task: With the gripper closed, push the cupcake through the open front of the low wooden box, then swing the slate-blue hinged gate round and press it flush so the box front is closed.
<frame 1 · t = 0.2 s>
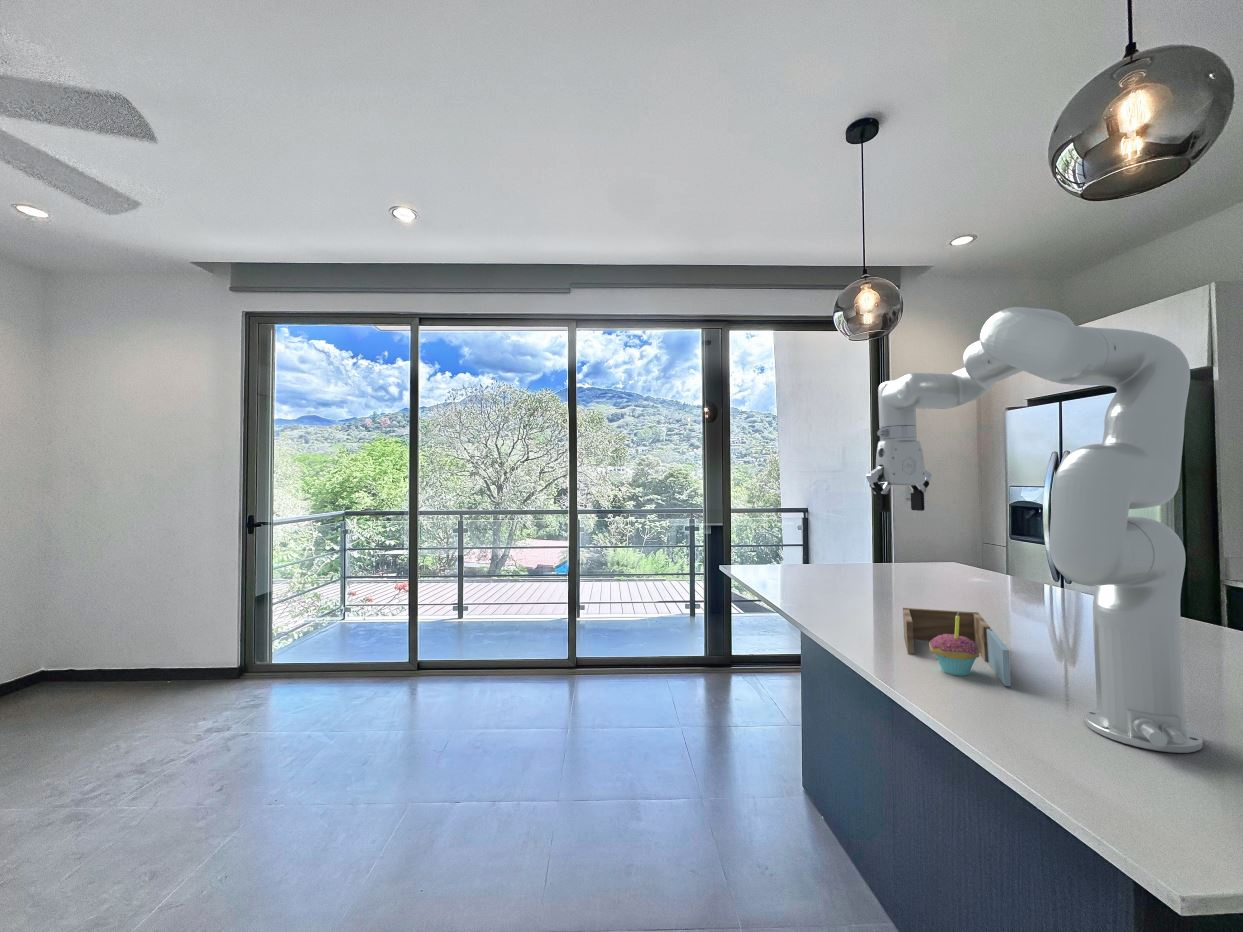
hand: (900, 511, 125), 31 cm above the table, tool pointing down, fingers open, 9 cm apart
gate: (997, 655, 107), point 4 cm above the table, hinge at 90.0°
cupcake: (954, 672, 109), on the table
wooden box: (944, 648, 124), on the table
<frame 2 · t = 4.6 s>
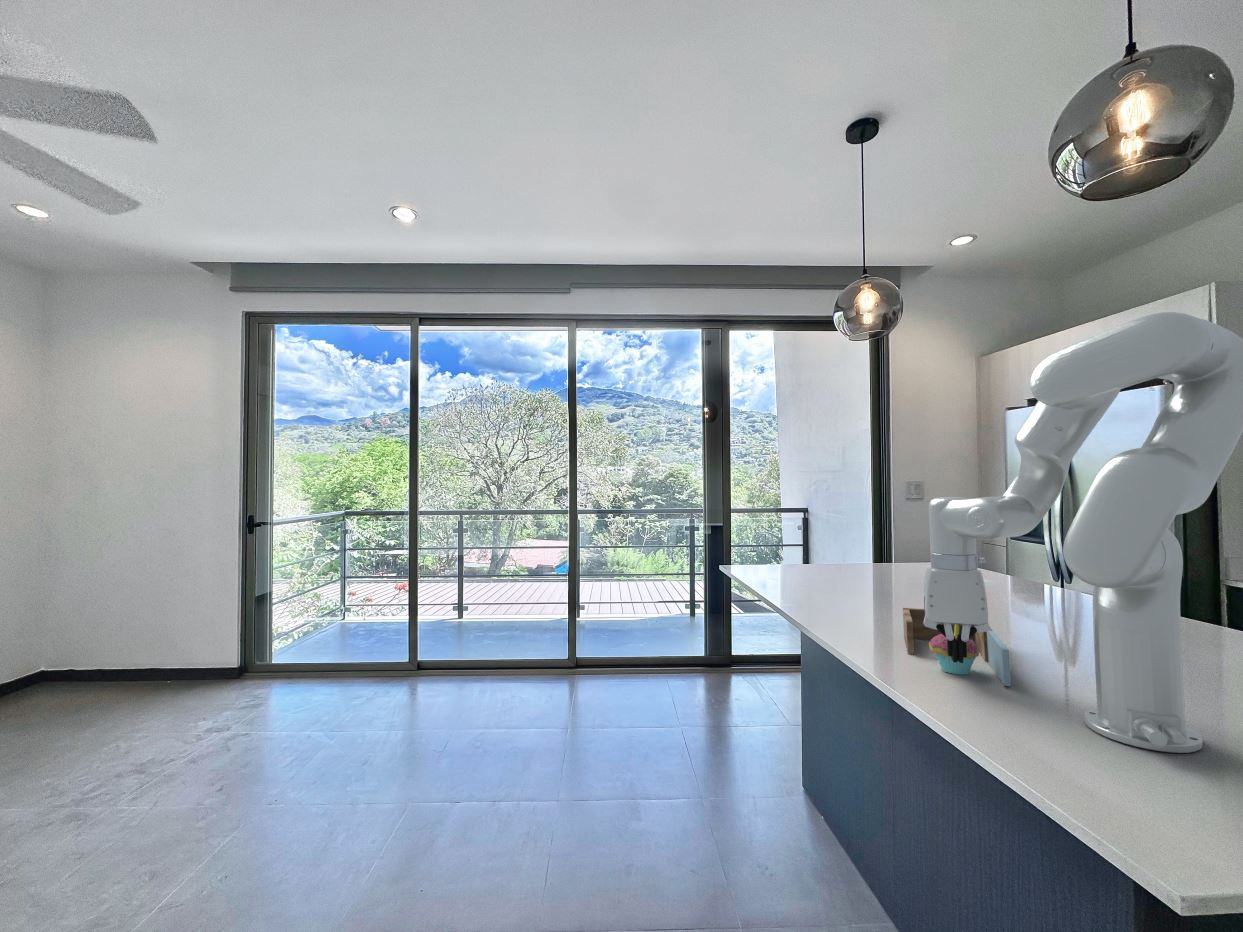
hand: (957, 660, 104), 4 cm above the table, tool pointing down, fingers closed
cupcake: (954, 671, 109), on the table, touching gripper
everything else where it was.
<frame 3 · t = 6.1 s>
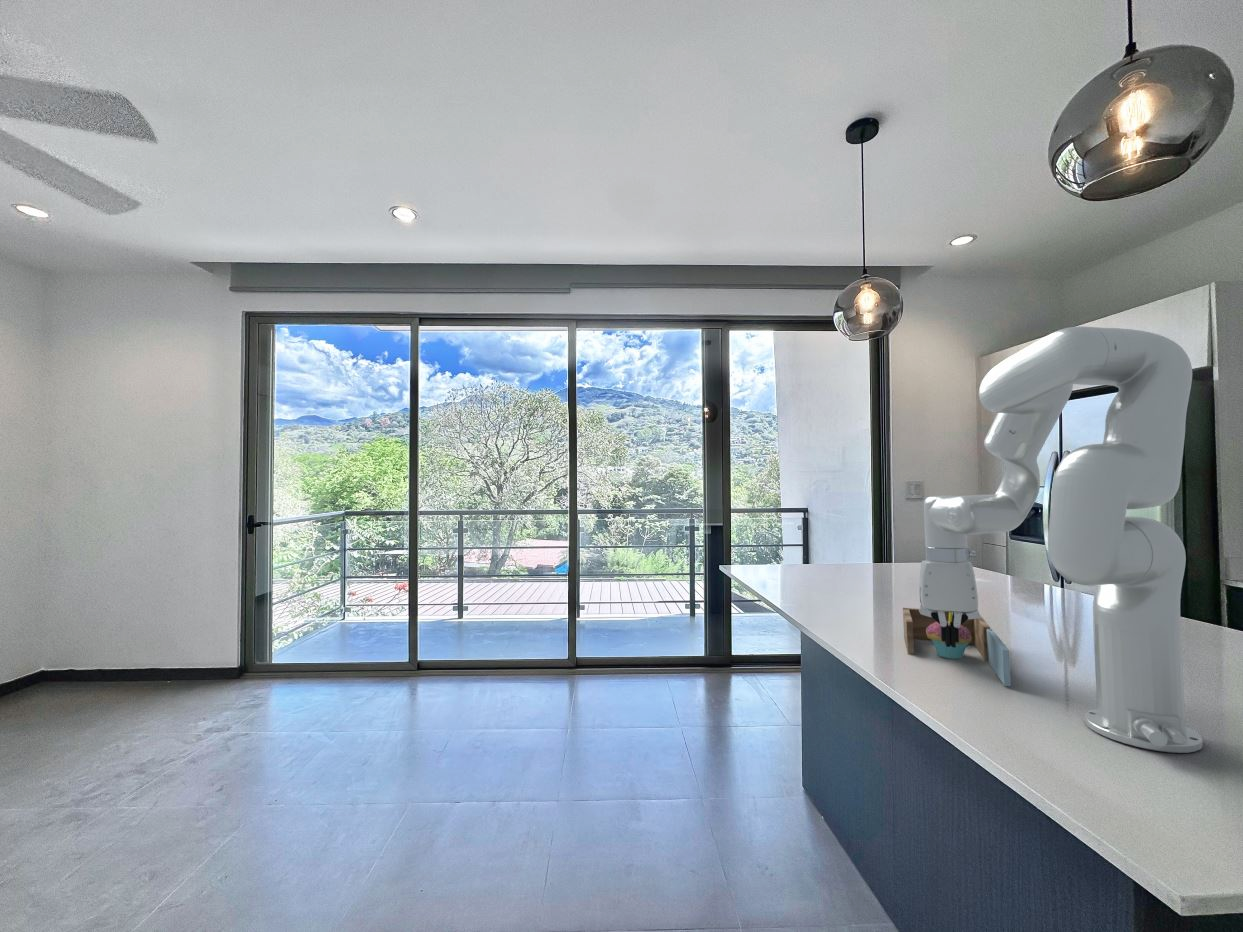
hand: (950, 645, 114), 4 cm above the table, tool pointing down, fingers closed
cupcake: (949, 656, 119), on the table, touching gripper
everything else where it was.
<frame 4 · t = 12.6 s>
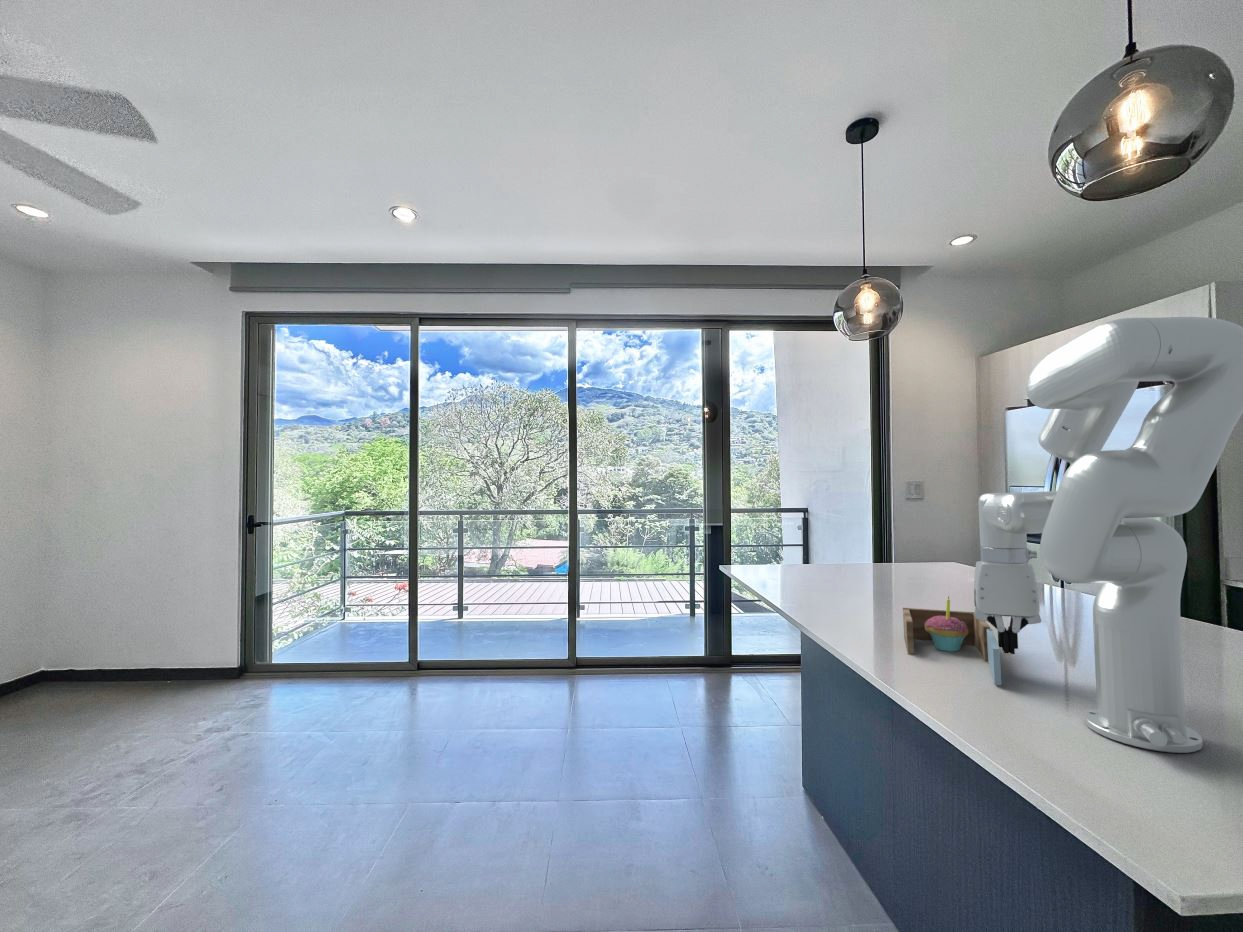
hand: (1008, 651, 107), 4 cm above the table, tool pointing down, fingers closed
gate: (993, 655, 107), point 4 cm above the table, hinge at 84.4°, touching gripper
cupcake: (946, 649, 124), on the table
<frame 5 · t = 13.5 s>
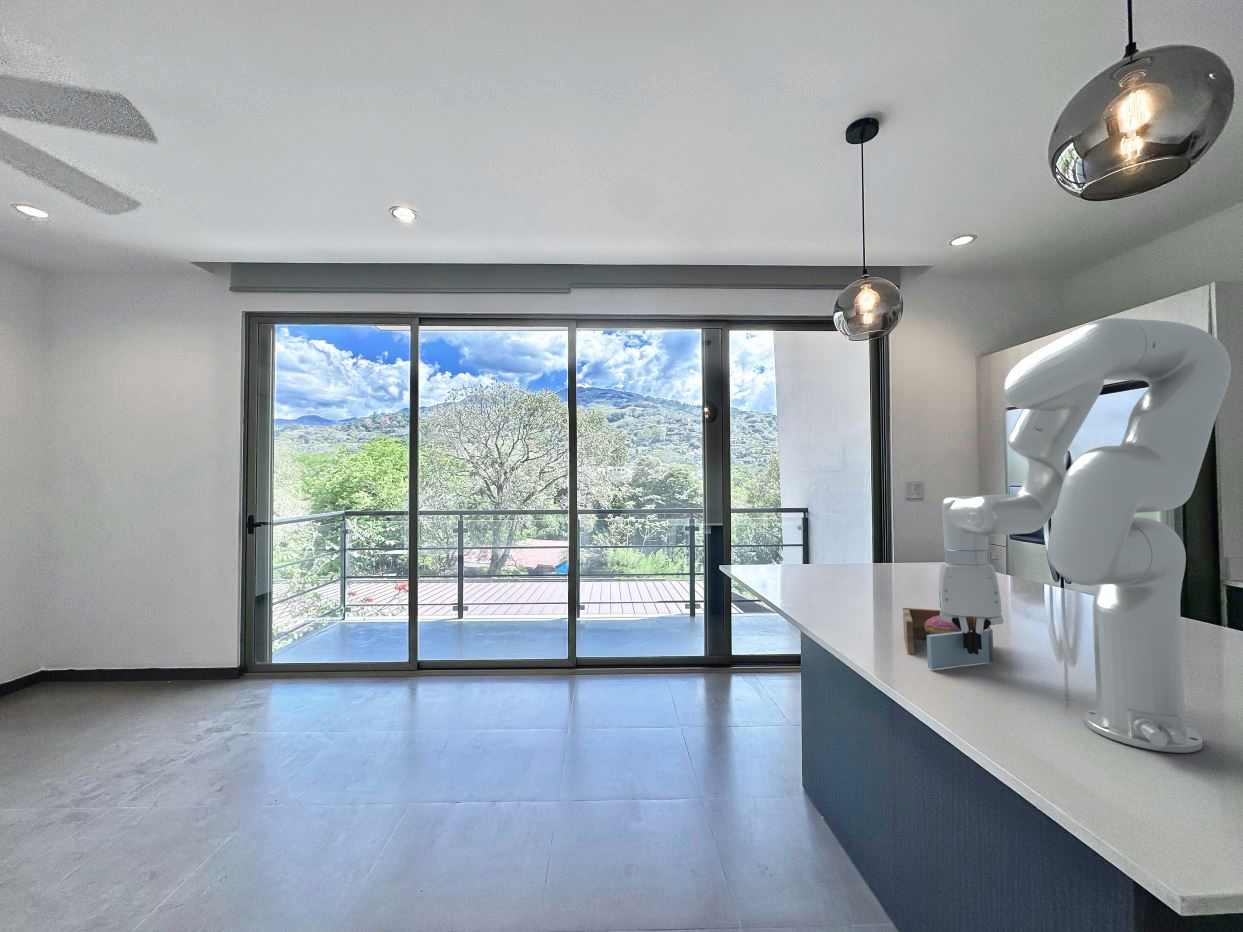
hand: (972, 652, 109), 4 cm above the table, tool pointing down, fingers closed
gate: (961, 648, 112), point 4 cm above the table, hinge at 37.9°, touching gripper
everything else where it was.
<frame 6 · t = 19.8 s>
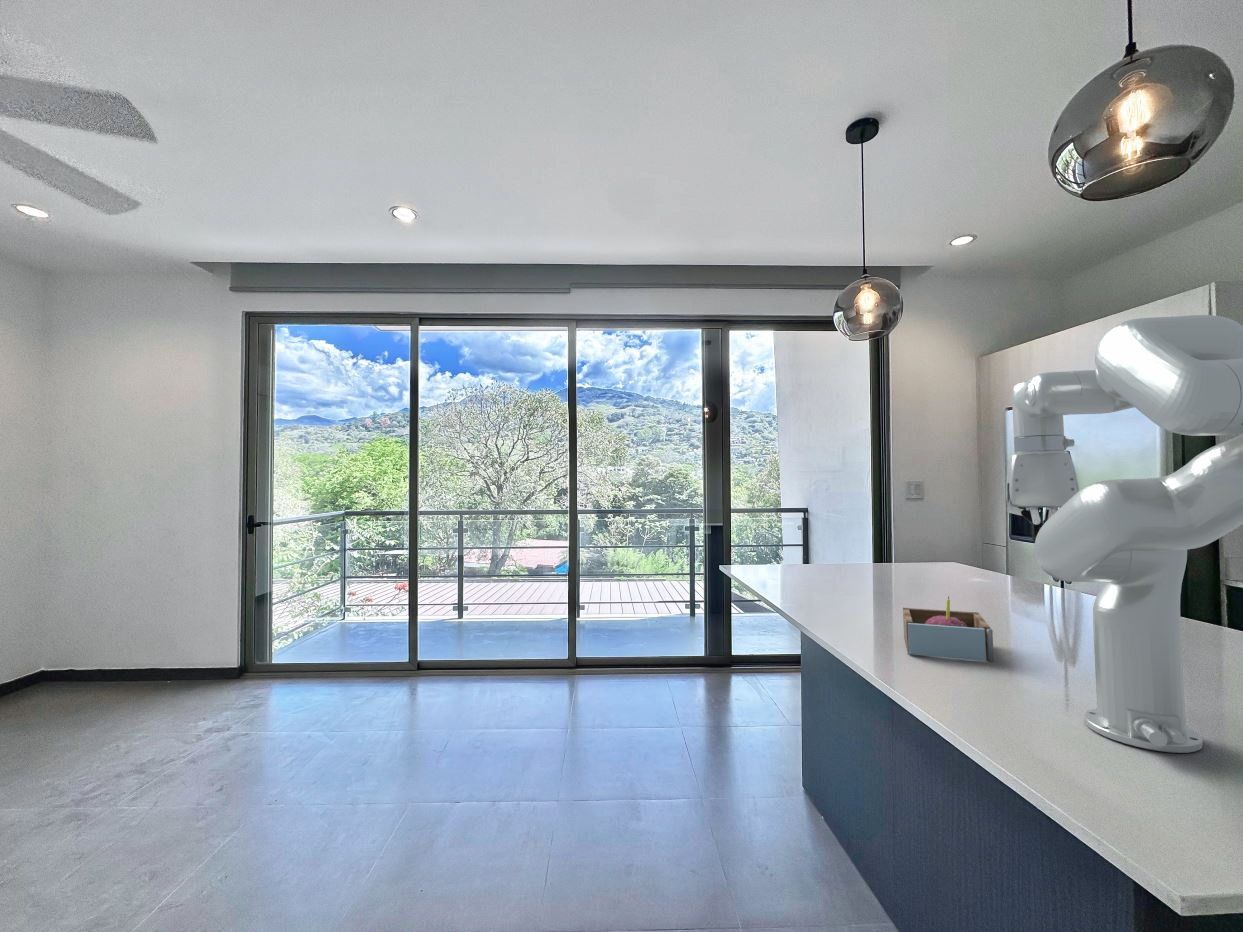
hand: (1043, 545, 103), 25 cm above the table, tool pointing down, fingers closed
gate: (949, 641, 116), point 4 cm above the table, hinge at -0.4°
everything else where it was.
at the end: cupcake inside the target area on the wooden box (0.7 cm from its centre), point 0.0 cm above the wooden box's base; gate at +0° (first picture: +90°); cupcake tilted 0° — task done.
